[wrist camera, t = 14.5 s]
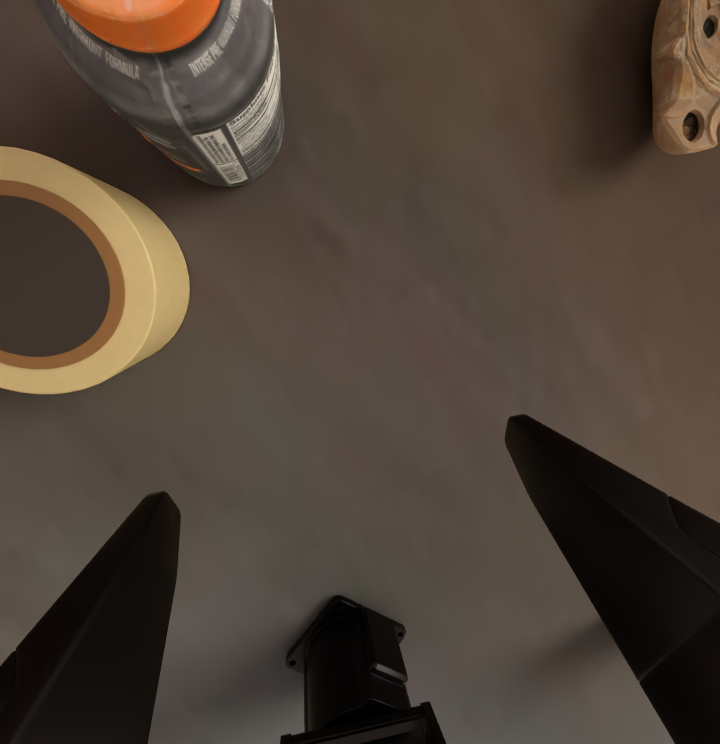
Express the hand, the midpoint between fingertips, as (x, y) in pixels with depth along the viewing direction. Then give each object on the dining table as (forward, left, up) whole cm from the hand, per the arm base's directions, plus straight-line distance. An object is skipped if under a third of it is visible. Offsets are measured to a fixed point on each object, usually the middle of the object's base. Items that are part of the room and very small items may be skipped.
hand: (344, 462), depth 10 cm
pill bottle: (+7, +11, -12) cm, 18 cm away
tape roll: (-3, +12, -12) cm, 17 cm away
